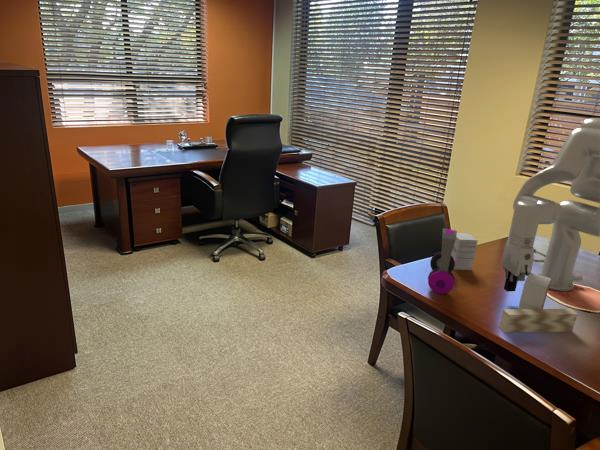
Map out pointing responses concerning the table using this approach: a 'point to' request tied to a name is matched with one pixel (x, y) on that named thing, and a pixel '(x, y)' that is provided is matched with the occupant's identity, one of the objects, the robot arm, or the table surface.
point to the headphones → (443, 265)
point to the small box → (534, 292)
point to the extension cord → (538, 253)
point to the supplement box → (464, 251)
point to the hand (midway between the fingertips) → (509, 290)
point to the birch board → (537, 320)
